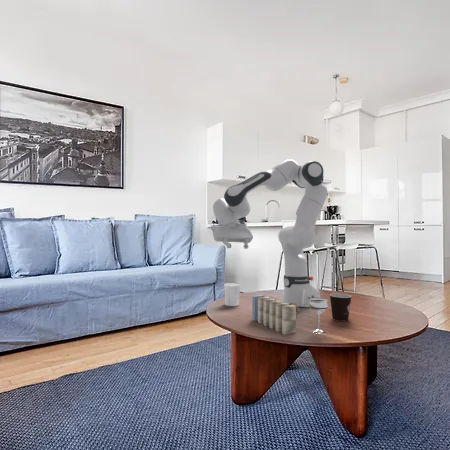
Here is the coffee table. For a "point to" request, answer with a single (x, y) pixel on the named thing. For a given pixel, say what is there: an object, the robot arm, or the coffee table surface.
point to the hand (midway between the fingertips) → (238, 247)
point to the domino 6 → (288, 319)
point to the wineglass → (318, 308)
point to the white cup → (232, 294)
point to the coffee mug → (340, 306)
